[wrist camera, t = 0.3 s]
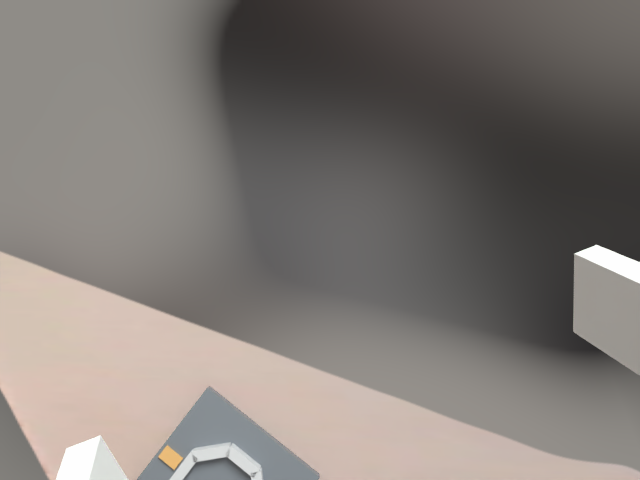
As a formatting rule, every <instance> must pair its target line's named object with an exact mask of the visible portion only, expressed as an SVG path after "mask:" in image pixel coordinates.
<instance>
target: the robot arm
mask: <svg viewBox="0 0 640 480" xmlns="http://www.w3.org/2000/svg"><path fill="white" fill-rule="evenodd" d="M573 332H575V333H576V334H578V335H579V336H581V337H582V338H584V339H585V340H587V341H588V342H590V343H591V344H593V345H594V346H596V347H597V348H599V349H600V350H602V351H603V352H605V353H606V354H608V355H609V356H611V357H612V358H614V359H615V360H617V361H619V362H620V363H621V364H623V365H624V366H626V367H627V368H629V369H631V370H632V371H634V372H635V373H636V374H638V375H639V376H640V263H639V262H637V261H635V260H632V259H630V258H627V257H625V256H622V255H620V254H618V253H615V252H613V251H610V250H608V249H605V248H603V247H600V246H598V245H596V246H593V247H590V248H588V249H585V250H583V251H580V252H578V253H575V254H574V323H573ZM56 480H128V479H127V477H126V475H125V474H124V472H123V471H122V469H121V467H120V466H119V464H118V463H117V461H116V459H115V458H114V456H113V455H112V453H111V451H110V450H109V448H108V447H107V445H106V443H105V442H104V440H103V439H102V437H101V435H100V436H97V437H95V438H92V439H90V440H87V441H84V442H82V443H79V444H77V445H74V446H71V447H69V448H66V451H65V454H64V457H63V460H62V463H61V466H60V469H59V472H58V475H57V478H56Z"/></svg>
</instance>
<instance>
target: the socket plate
mask: <svg viewBox="0 0 640 480" xmlns="http://www.w3.org/2000/svg"><path fill="white" fill-rule="evenodd" d="M319 478H320V477H319V473H317V472H316V471H315V470H314V469H312V468H311V467H310V466H309V465H307V464H306V463H305V462H304V461H302V460H301V459H300V458H299V457H297V456H296V455H295V454H294V453H292V452H291V451H290V450H289V449H287V448H286V447H285V446H284V445H282V444H281V443H280V442H279V441H277V440H276V439H275V438H274V437H272V436H271V435H270V434H269V433H267V432H266V431H265V430H264V429H262V428H261V427H260V426H259V425H258V424H256V423H255V422H254V421H253V420H251V419H250V418H249V417H248V416H246V415H245V414H244V413H243V412H241V411H240V410H239V409H238V408H236V407H235V406H234V405H233V404H231V403H230V402H229V401H228V400H226V399H225V398H224V397H223V396H221V395H220V394H219V393H218V392H216V391H215V390H214V389H213V388H211V387H210V386H209V387H208V388H207V389H206V390H205V392H204V393H203V394H202V396H201V397H200V398H199V399H198V401H197V402H196V403H195V405H194V406H193V407H192V409H191V410H190V411H189V412H188V414H187V415H186V416H185V418H184V419H183V420H182V422H181V423H180V424H179V425H178V427H177V428H176V429H175V431H174V432H173V433H172V435H171V436H170V437H169V438H168V440H167V441H166V442H165V444H164V445H163V446H162V448H161V449H160V450H159V451H158V453H157V454H156V455H155V457H154V458H153V459H152V461H151V462H150V463H149V464H148V466H147V467H146V468H145V470H144V471H143V472H142V474H141V475H140V476H139V477H138V479H137V480H318V479H319Z"/></svg>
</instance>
